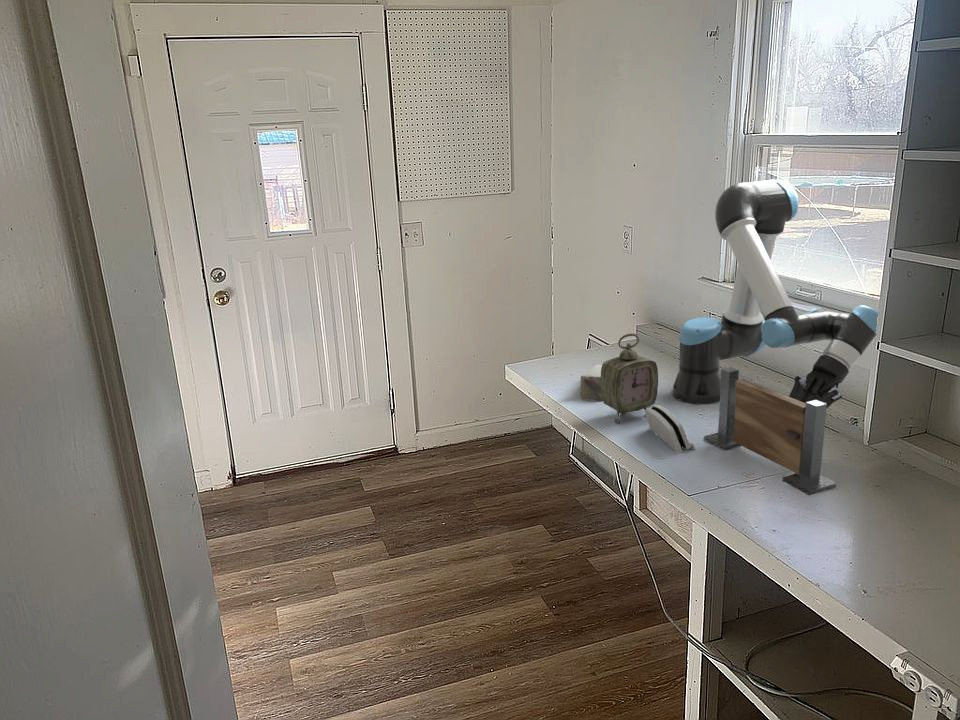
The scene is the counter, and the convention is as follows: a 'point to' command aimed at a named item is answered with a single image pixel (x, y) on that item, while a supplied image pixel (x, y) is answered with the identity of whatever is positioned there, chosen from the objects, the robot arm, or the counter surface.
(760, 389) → the gate leaf
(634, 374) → the tabletop clock
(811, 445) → the gate frame
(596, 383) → the block
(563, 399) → the counter surface
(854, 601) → the counter surface
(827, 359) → the robot arm
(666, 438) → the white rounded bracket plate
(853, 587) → the counter surface
